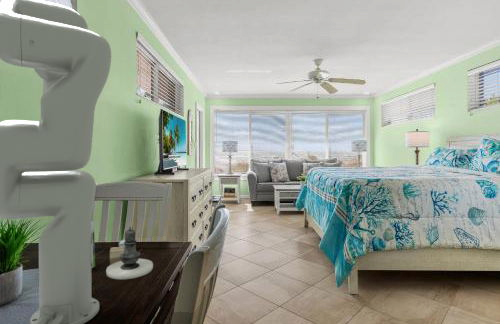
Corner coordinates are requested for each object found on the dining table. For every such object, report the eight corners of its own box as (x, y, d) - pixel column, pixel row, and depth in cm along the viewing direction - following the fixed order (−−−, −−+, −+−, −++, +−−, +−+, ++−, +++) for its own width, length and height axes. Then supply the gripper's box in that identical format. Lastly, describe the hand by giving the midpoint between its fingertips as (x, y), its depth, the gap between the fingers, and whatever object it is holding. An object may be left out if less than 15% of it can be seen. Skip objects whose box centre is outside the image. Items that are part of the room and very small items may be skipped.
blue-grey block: (130, 254, 102) (130, 243, 102) (118, 255, 101) (118, 243, 101) (133, 250, 106) (133, 239, 106) (121, 251, 105) (121, 240, 105)
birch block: (123, 262, 94) (123, 250, 94) (109, 264, 93) (109, 251, 93) (123, 258, 98) (123, 246, 98) (110, 259, 97) (110, 247, 96)
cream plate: (149, 277, 83) (149, 273, 82) (100, 280, 80) (100, 276, 80) (155, 261, 95) (155, 257, 95) (113, 263, 93) (113, 259, 93)
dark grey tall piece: (133, 270, 84) (133, 229, 84) (115, 269, 85) (115, 228, 85) (144, 263, 90) (144, 225, 90) (126, 262, 91) (126, 224, 91)
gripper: (58, 98, 81) (58, 159, 81) (82, 108, 98) (82, 159, 98) (28, 97, 79) (28, 159, 80) (57, 107, 96) (58, 158, 97)
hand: (58, 159), depth 89 cm, fingers open, 9 cm apart
